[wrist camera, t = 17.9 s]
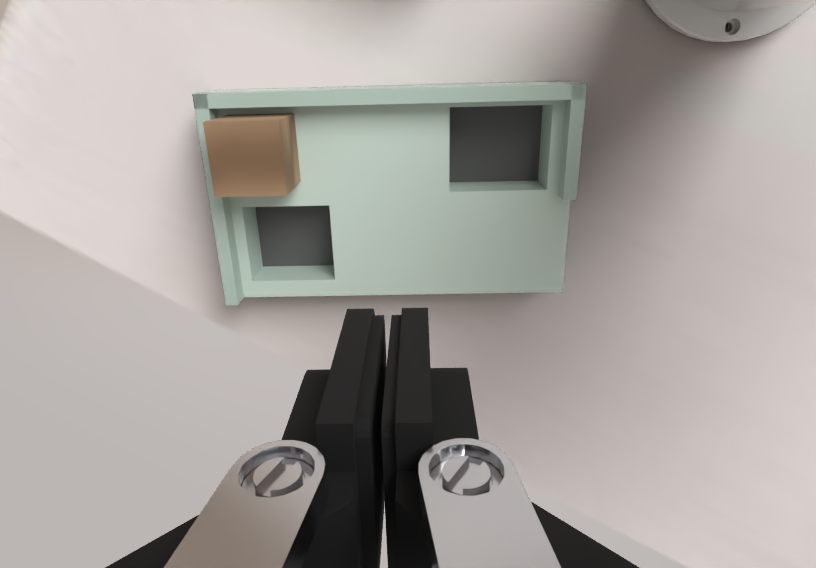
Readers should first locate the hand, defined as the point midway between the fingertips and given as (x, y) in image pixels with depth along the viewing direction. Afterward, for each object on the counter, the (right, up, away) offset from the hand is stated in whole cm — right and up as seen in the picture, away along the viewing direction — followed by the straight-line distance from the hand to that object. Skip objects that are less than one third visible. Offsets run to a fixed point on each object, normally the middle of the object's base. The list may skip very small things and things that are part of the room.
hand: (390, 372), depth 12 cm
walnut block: (-8, +10, +22) cm, 26 cm away
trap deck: (-1, +8, +26) cm, 27 cm away
